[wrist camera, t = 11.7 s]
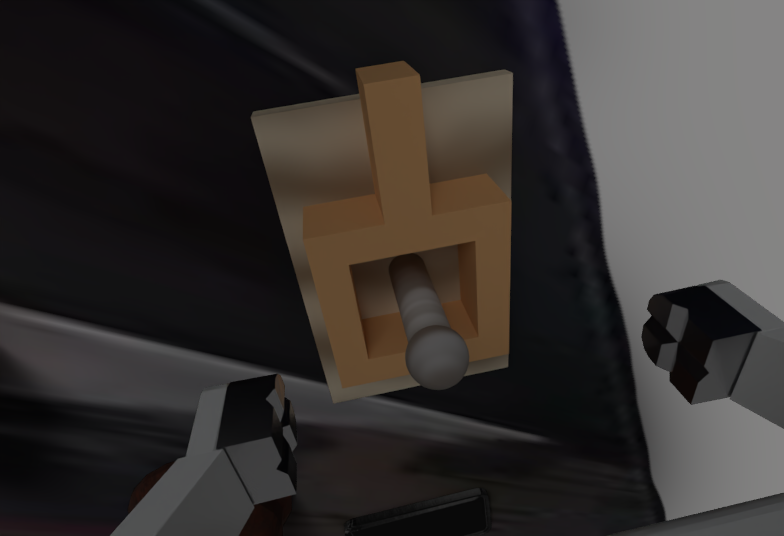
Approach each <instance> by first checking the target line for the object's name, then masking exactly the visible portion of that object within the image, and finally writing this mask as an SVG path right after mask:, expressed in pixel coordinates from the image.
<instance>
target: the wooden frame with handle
mask: <svg viewBox="0 0 784 536" xmlns="http://www.w3.org/2000/svg"><path fill="white" fill-rule="evenodd" d="M355 70H356V76H357V82H358V89H359V95H360V101H361V108H362V114H363V120H364V127H365V133H366V139H367V146H368V152H369V158H370V165H371V171H372V177H373V184H374V190H375V194H371V195H366V196H360V197H355V198H349V199H344V200H338V201H333V202H327V203H322V204H316V205H311V206H305V207H303V243H304V246H305V250H306V254H307V258H308V261H309V265H310V269H311V273H312V276H313V280H314V284H315V288H316V291H317V295H318V299H319V303H320V306H321V310H322V314H323V318H324V321H325V325H326V329H327V333H328V336H329V340H330V344H331V348H332V351H333V355H334V359H335V363H336V366H337V370H338V374H339V378H340V381H341V385H342V388H347V387H352V386H357V385H362V384H367V383H371V382H376V381H381V380H386V379H391V378H395V377H400V376H405V375H410V373H409V371H408V369H407V366H406V361H405V353H406V348H407V345H408V340H407V336H406V333H405V329H404V326H403V322H402V318H401V315H400V312H396V313H391V314H386V315H381V316H376V317H371V318H366V319H362V317H361V313H360V308H359V303H358V298H357V293H356V289H355V284H354V279H353V274H352V269H351V265H352V264H357V263H362V262H367V261H373V260H378V259H383V258H388V257H394V256H399V255H404V254H409V253H414V252H420V251H425V250H430V249H435V248H441V247H446V246H451V245H456V244H458V261H459V279H460V297H461V300H457V301H452V302H447V303H442V304H441V305H442V307H443V310H444V312H445V315H446V317H447V320H448V322H449V324H450V327H451V329H453V330H455V331H456V332H457V333H458V334H459V335H460V336H461V337H462V338H463V339H464V341H465V343H466V345H467V348H468V351H469V362H472V361H477V360H482V359H487V358H491V357H496V356H501V355H506V354H509V316H510V257H511V200H510V199H509V198H508V197H507V195H506V194H505V193H504V192H503V191H502V190H501V189H500V188H499V187H498V185H497V184H496V183H495V182H494V181H493V180H492V179H491V178H490V177H489V176H488V174H487V173H486V174H481V175H475V176H470V177H465V178H459V179H454V180H448V181H443V182H437V183H432V184H429V173H428V162H427V150H426V139H425V127H424V116H423V104H422V93H421V81H420V75H419V74H418V73H417V72H416V71H415V70H414V69H413V68H412V67H410V66H409V65H408V64H407V63H406V62H405V61H399V62H393V63H387V64H380V65H374V66H368V67H362V68H356V69H355Z"/></svg>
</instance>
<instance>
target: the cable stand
mask: <svg viewBox="0 0 784 536" xmlns="http://www.w3.org/2000/svg"><path fill="white" fill-rule="evenodd" d="M421 93H422V104H423V116H424V127H425V139H426V150H427V162H428V173H429V184H432V183H437V182H443V181H448V180H454V179H459V178H465V177H470V176H475V175H481V174H486V173H487V174H488V176H489V177H490V178H491V179H492V180H493V181H494V182H495V183H496V184H497V185H498V187H499V188H500V189H501V190H502V191H503V192H504V193H505V194H506V195H507V197H508V198H509V199H510V200H511V160H512V100H513V73H512V72H509V71H507V70H505V69H504V70H498V71H492V72H486V73H480V74H474V75H468V76H462V77H456V78H450V79H444V80H438V81H432V82H426V83H421ZM251 120H252V124H253V127H254V131H255V134H256V138H257V141H258V144H259V148H260V151H261V155H262V158H263V162H264V165H265V169H266V172H267V176H268V179H269V183H270V186H271V189H272V193H273V196H274V200H275V203H276V207H277V210H278V214H279V217H280V221H281V224H282V228H283V231H284V235H285V238H286V241H287V245H288V248H289V252H290V255H291V259H292V262H293V266H294V269H295V273H296V276H297V280H298V283H299V286H300V290H301V293H302V297H303V300H304V304H305V307H306V311H307V314H308V318H309V321H310V325H311V328H312V331H313V335H314V338H315V342H316V345H317V349H318V352H319V356H320V359H321V363H322V366H323V370H324V373H325V376H326V380H327V383H328V387H329V390H330V394H331V397H332V401H333V404H334V403H339V402H343V401H348V400H353V399H358V398H362V397H367V396H372V395H377V394H382V393H386V392H391V391H396V390H401V389H405V388H410V387H415V386H420V385H422V386H423V387H426V388H428V389H433V390H443V389H447V388H450V387H452V386H454V385H455V384H457V383H458V382H459V381H460V380H461V379H462V378H463V377H464V376H467V375H472V374H477V373H482V372H487V371H491V370H496V369H501V368H506V367H508V354H506V355H501V356H496V357H491V358H487V359H482V360H477V361H472V362H469V351H468V348H467V345H466V343H465V341H464V339H463V338H462V337H461V336H460V335H459V334H458V333H457V332H456V331H455V330H453V329H451V327H450V324H449V322H448V320H447V317H446V315H445V312H444V310H443V307H442V305H441V304H442V303H447V302H452V301H457V300H461V297H460V279H459V261H458V244H456V245H451V246H446V247H441V248H435V249H430V250H425V251H420V252H414V253H409V254H404V255H399V256H394V257H388V258H383V259H378V260H373V261H367V262H362V263H357V264H352V265H351V269H352V274H353V279H354V284H355V289H356V293H357V298H358V303H359V308H360V313H361V317H362V319H366V318H371V317H376V316H381V315H386V314H391V313H396V312H400V315H401V318H402V322H403V326H404V329H405V333H406V336H407V340H408V345H407V348H406V353H405V361H406V366H407V369H408V371H409V373H410V375H405V376H400V377H395V378H391V379H386V380H381V381H376V382H371V383H367V384H362V385H357V386H352V387H347V388H342V385H341V381H340V378H339V374H338V370H337V366H336V363H335V359H334V355H333V351H332V348H331V344H330V340H329V336H328V333H327V329H326V325H325V321H324V318H323V314H322V310H321V306H320V303H319V299H318V295H317V291H316V288H315V284H314V280H313V276H312V273H311V269H310V265H309V261H308V258H307V254H306V250H305V246H304V243H303V207H305V206H311V205H316V204H322V203H327V202H333V201H338V200H344V199H349V198H355V197H360V196H366V195H371V194H375V190H374V184H373V177H372V171H371V165H370V158H369V152H368V146H367V139H366V133H365V127H364V120H363V114H362V108H361V101H360V95H359V94H355V95H349V96H343V97H337V98H331V99H325V100H319V101H313V102H307V103H301V104H295V105H289V106H283V107H277V108H271V109H265V110H259V111H253V113H252V115H251Z"/></svg>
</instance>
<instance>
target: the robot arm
mask: <svg viewBox="0 0 784 536" xmlns="http://www.w3.org/2000/svg"><path fill="white" fill-rule="evenodd" d="M647 310H648V311H649V312H650V314H651V315H652V316H651V317H650V319H649V320H648V321H647V322H646V323H645V324H644V325H643V331H642V341H643V346H644V349H645V351H646V353H647V355H648V357H649V358H650V359H651V360H652V362H653V363H654V364H655V365H656V366H658V367H660V368H662V369H664V370H667V371H669V372H670V382H671V383H672V384H673V385H674V386H675V387H676V389H677V390H678V391H679V392H680V393H681V394H682V395H683V396H684V398H685V399H686V400H687V401H688V402H689V403H690V404H691V405H692V404H697V403H702V402H707V401H712V400H717V399H722V398H727V397H730V399H731V400H732V401H734V402H736V403H738V404H740V405H742V406H743V407H745V408H747V409H749V410H751V411H753V412H754V413H756V414H758V415H760V416H762V417H763V418H765V419H767V420H769V421H771V422H772V423H774V424H777V425H778V426H780V427H782V428H783V429H784V322H783V321H781V320H780V319H779V318H778V317H776V316H775V315H774V314H772V313H771V312H769V311H768V310H767V309H765V308H764V307H762V306H761V305H760V304H758V303H757V302H756V301H754V300H753V299H752V298H750V297H749V296H747V295H746V294H745V293H743V292H742V291H741V290H739V289H738V288H736V287H735V286H734V285H732V284H731V283H730V282H727V281H723V280H718V281H714V282H709V283H704V284H700V285H697V286H692V287H687V288H683V289H678V290H673V291H669V292H664V293H660V294H655V295H653V297H652V298H651V299H650V300H649V304H648V308H647ZM284 395H285V385H284V383H283V380H282V378H281V376H280V375H279V374H273V375H268V376H262V377H257V378H252V379H246V380H241V381H235V382H230V383H228V384H222V385H217V386H211V387H205V389H204V390H203V392H202V393H201V395H200V400H199V404H198V408H197V412H196V416H195V420H194V424H193V428H192V433H191V437H190V441H189V445H188V449H187V453H186V457H183V458H179V459H177V460H176V461H175V463H174V464H173V465H172V466H171V467H170V468H169V469H168V471H167V472H166V473H165V474H164V475H163V476H162V477H161V478H160V480H159V481H158V482H157V483H156V484H155V485H154V486H153V488H152V489H151V490H150V491H149V492H148V493H147V494H146V495H145V497H144V498H143V499H142V500H141V501H140V502H139V503H138V505H137V506H136V507H135V508H134V509H133V510H132V511H131V512H130V514H129V515H128V516H127V517H126V518H125V519H124V520H123V522H122V523H121V524H120V525H119V526H118V527H117V528H116V529H115V531H114V532H113V533H112V534H111V535H110V536H239V534H240V532H241V531H242V529H243V527H244V525H245V523H246V522H247V520H248V518H249V516H250V514H251V513H252V511H253V509H254V505H255V504H259V503H263V502H267V501H271V500H275V499H279V498H282V497H286V496H290V495H294V494H296V489H297V463H296V460H295V458H294V455H293V453H292V451H293V450H294V449H295V447H296V446H297V427H296V419H295V414H294V410H293V407H292V404H291V401H290V400H289V399H287V398H285V397H284ZM606 536H784V493H780V494H776V495H772V496H768V497H764V498H760V499H756V500H752V501H748V502H743V503H739V504H735V505H731V506H727V507H722V508H718V509H714V510H710V511H706V512H702V513H698V514H693V515H689V516H685V517H681V518H677V519H673V520H669V521H664V522H660V523H656V524H652V525H648V526H644V527H640V528H635V529H631V530H627V531H623V532H619V533H615V534H611V535H606Z"/></svg>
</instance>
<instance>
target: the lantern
mask: <svg viewBox="0 0 784 536" xmlns="http://www.w3.org/2000/svg"><path fill="white" fill-rule="evenodd" d="M174 463H175V462H171V463H168V464H165V465H164V466H162V467H160V468H158V469H156V470H155V471H153V472H151V473H149V474H148V475H146V476H145V477H144V479H143V480H142V481H141V482H140V483H139V484H138V485H137V486H136V487H135V489H134V491H133V493H132V495H131V499H130V503H129V507H128V513H129V514H130V512H131V511H132V510H133V509H134V508H135V507H136V506H137V505H138V503H139V502H140V501H141V500H142V499H143V498H144V497H145V495H146V494H147V493H148V492H149V491H150V490H151V489H152V488H153V486H154V485H155V484H156V483H157V482H158V481H159V480H160V478H161V477H162V476H163V475H164V474H165V473H166V472H167V471H168V469H169V468H170V467H171V466H172V465H173V464H174ZM291 510H292V502H291V495H290V496H286V497H282V498H279V499H275V500H271V501H267V502H263V503H259V504H255V505H254V509H253V511H252V513H251V514H250V516H249V518H248V520H247V522H246V523H245V525H244V527H243V529H242V531H241V532H240V534H239V536H283V525H284V523H285V522H286V520H287V518H288V516H289V514H290V512H291Z"/></svg>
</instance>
